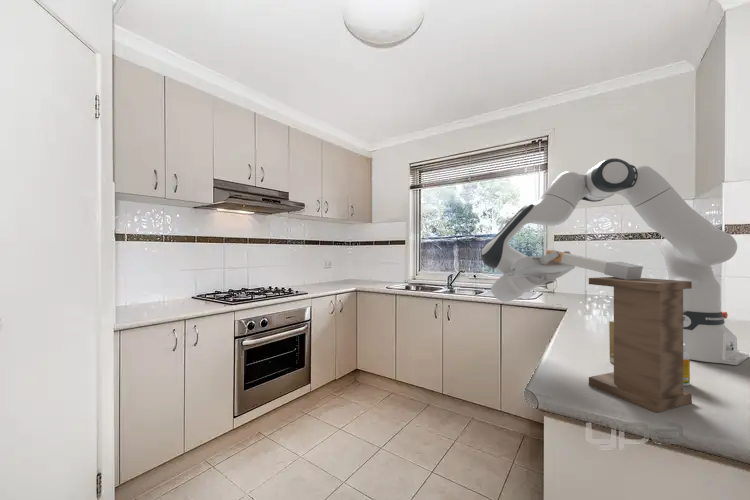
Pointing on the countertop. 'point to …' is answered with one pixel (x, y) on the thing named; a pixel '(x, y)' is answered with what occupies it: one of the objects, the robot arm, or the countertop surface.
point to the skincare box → (611, 340)
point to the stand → (646, 343)
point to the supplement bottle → (686, 367)
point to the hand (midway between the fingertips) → (563, 253)
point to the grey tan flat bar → (601, 266)
